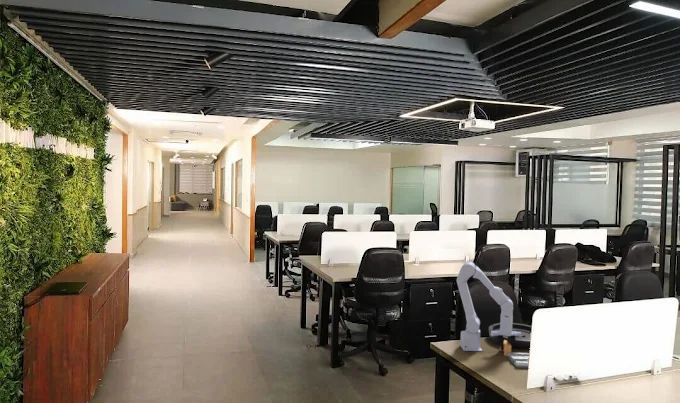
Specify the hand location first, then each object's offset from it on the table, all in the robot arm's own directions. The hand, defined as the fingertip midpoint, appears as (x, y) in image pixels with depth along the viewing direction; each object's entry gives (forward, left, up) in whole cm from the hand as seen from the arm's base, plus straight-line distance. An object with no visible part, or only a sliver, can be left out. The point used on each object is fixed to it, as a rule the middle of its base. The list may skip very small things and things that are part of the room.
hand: (505, 350), depth 230 cm
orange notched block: (0, 0, -1) cm, 1 cm away
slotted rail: (+4, -12, -1) cm, 13 cm away
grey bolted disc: (+13, +18, -2) cm, 22 cm away
